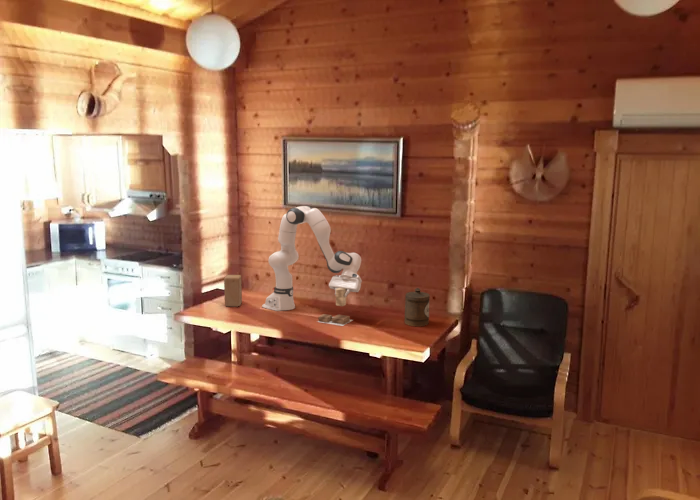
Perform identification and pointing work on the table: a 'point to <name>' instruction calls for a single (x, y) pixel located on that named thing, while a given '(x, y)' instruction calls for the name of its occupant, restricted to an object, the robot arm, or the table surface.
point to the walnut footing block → (325, 318)
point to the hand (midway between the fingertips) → (340, 295)
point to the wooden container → (417, 308)
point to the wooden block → (233, 290)
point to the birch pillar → (340, 297)
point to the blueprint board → (335, 323)
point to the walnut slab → (340, 319)
